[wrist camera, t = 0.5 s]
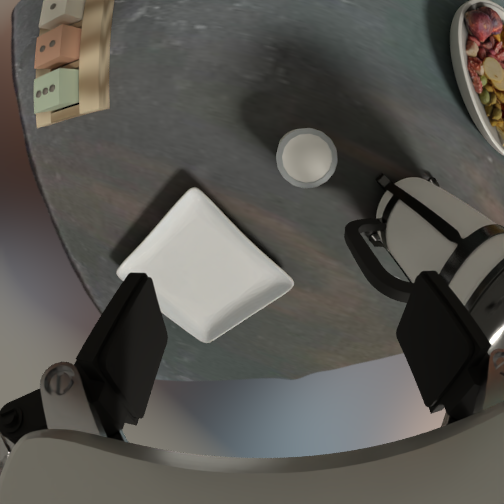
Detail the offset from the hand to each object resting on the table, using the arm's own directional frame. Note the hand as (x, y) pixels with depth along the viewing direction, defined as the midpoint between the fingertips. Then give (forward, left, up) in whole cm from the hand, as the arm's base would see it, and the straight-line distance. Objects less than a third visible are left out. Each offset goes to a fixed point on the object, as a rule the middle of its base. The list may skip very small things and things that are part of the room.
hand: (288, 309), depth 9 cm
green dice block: (-13, -29, -27) cm, 42 cm away
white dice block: (-27, -29, -27) cm, 48 cm away
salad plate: (+18, -10, -30) cm, 36 cm away
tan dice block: (-20, -29, -27) cm, 45 cm away
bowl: (-22, +41, -30) cm, 56 cm away
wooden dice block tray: (-20, -29, -29) cm, 46 cm away
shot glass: (-1, +4, -30) cm, 30 cm away
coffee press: (+7, +20, -30) cm, 36 cm away
